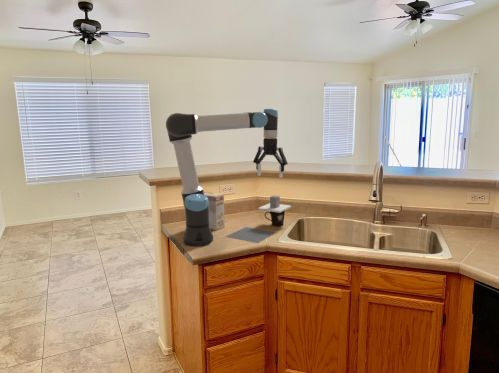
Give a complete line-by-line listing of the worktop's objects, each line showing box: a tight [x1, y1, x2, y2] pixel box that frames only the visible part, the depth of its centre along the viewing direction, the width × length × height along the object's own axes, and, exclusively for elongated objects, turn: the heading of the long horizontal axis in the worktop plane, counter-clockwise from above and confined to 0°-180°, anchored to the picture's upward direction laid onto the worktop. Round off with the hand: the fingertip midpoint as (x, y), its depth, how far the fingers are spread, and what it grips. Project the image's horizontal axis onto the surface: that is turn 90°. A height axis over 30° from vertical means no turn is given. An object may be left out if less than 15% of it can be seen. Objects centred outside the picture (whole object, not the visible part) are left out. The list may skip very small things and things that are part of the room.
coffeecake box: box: [204, 191, 226, 231], centre depth 208 cm, size 15×7×20 cm, turn 50°
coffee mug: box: [264, 210, 286, 227], centre depth 210 cm, size 12×9×10 cm
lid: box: [257, 195, 292, 213], centre depth 209 cm, size 14×14×7 cm
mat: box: [225, 226, 278, 244], centre depth 194 cm, size 20×20×1 cm
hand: (269, 176), depth 202 cm, fingers open, 13 cm apart
